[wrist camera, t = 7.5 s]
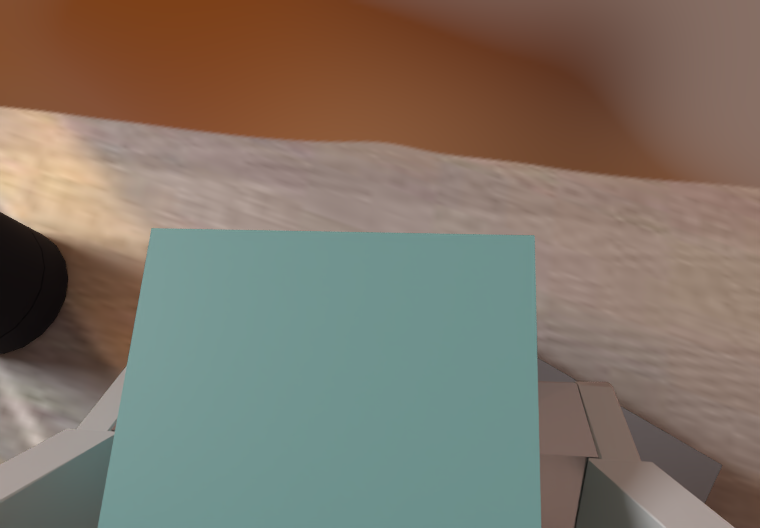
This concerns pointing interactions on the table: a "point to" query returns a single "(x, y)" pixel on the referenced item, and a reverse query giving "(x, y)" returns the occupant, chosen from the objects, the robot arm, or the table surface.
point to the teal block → (330, 383)
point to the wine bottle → (28, 283)
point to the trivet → (658, 446)
